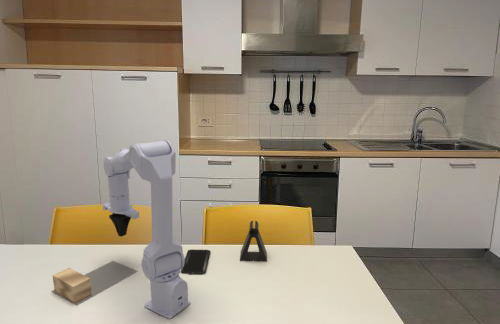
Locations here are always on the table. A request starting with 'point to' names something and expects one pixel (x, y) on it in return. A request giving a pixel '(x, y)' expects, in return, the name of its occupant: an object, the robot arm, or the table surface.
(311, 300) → the table surface
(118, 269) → the rubber mat
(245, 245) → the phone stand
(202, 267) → the phone
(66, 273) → the oak block
